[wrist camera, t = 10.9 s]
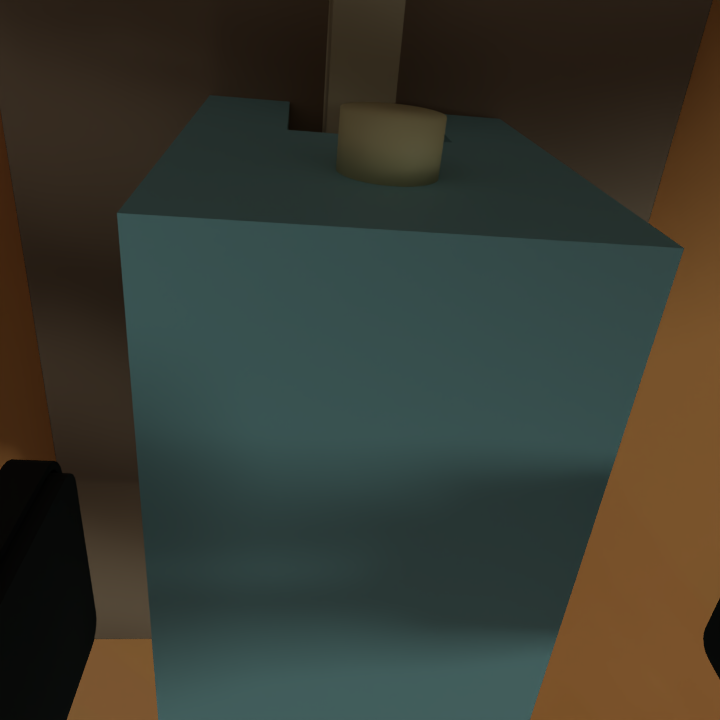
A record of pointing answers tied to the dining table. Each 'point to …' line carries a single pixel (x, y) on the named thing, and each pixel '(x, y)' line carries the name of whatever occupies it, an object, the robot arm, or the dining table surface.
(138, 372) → the cabinet
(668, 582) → the dining table surface
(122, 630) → the board
